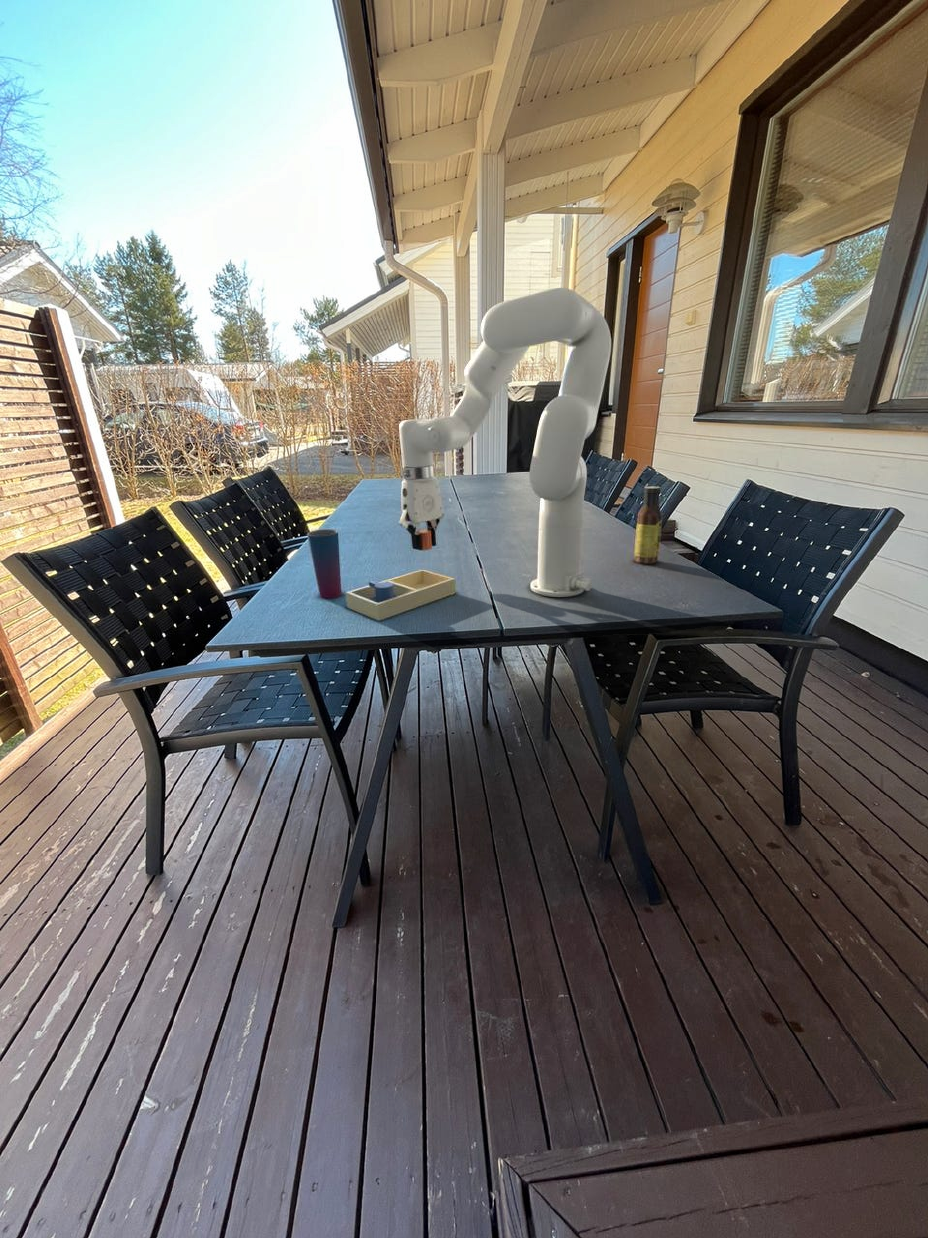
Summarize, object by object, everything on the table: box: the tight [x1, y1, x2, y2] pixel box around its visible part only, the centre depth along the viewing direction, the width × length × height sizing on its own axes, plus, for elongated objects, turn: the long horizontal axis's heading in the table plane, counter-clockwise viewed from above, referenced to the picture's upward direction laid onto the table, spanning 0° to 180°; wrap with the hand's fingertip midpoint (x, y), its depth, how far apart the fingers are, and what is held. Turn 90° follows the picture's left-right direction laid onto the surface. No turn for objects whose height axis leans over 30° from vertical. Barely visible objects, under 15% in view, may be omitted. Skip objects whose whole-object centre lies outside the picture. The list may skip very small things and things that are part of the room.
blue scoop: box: [368, 580, 394, 603], centre depth 115 cm, size 7×4×4 cm, turn 45°
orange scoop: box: [419, 529, 433, 551], centre depth 135 cm, size 7×4×4 cm, turn 45°
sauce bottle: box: [633, 485, 663, 565], centre depth 139 cm, size 7×6×20 cm
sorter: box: [345, 568, 457, 622], centre depth 119 cm, size 12×22×4 cm, turn 135°
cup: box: [306, 528, 342, 599], centre depth 121 cm, size 7×7×15 cm
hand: (424, 546), depth 134 cm, fingers closed on orange scoop, 4 cm apart
